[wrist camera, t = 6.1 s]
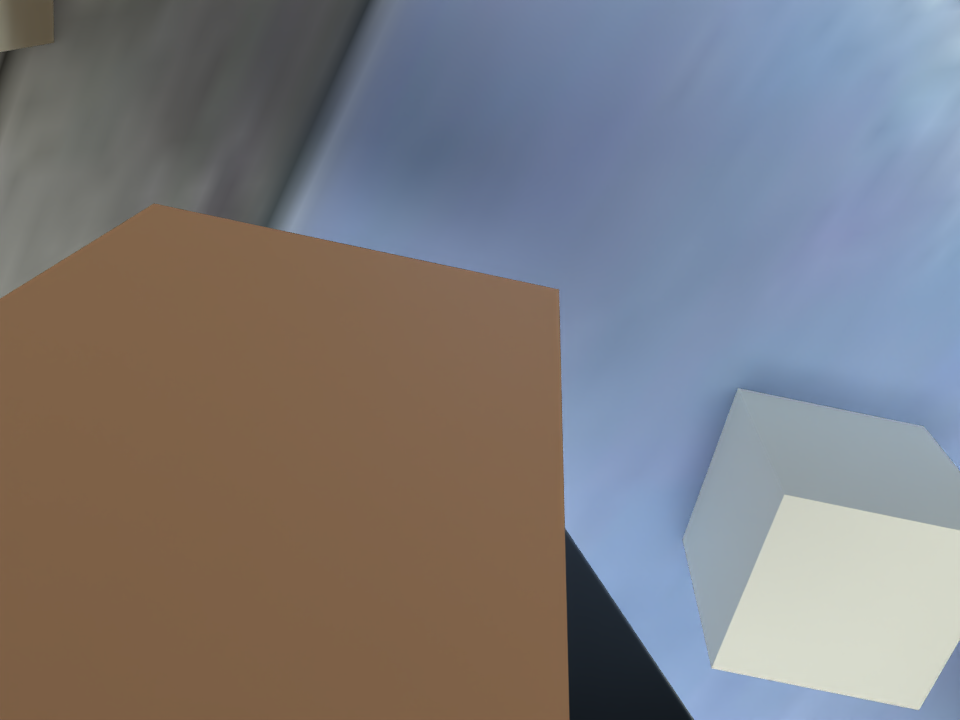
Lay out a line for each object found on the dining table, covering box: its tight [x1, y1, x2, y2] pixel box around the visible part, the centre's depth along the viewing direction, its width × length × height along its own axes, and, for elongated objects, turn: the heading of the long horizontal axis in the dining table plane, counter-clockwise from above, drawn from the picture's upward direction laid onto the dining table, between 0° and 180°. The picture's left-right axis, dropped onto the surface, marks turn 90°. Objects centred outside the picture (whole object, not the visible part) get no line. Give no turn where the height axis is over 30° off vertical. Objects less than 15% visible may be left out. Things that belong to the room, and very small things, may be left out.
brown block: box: [0, 204, 569, 720], centre depth 7 cm, size 4×4×7 cm
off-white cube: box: [682, 388, 960, 710], centre depth 21 cm, size 5×5×5 cm
